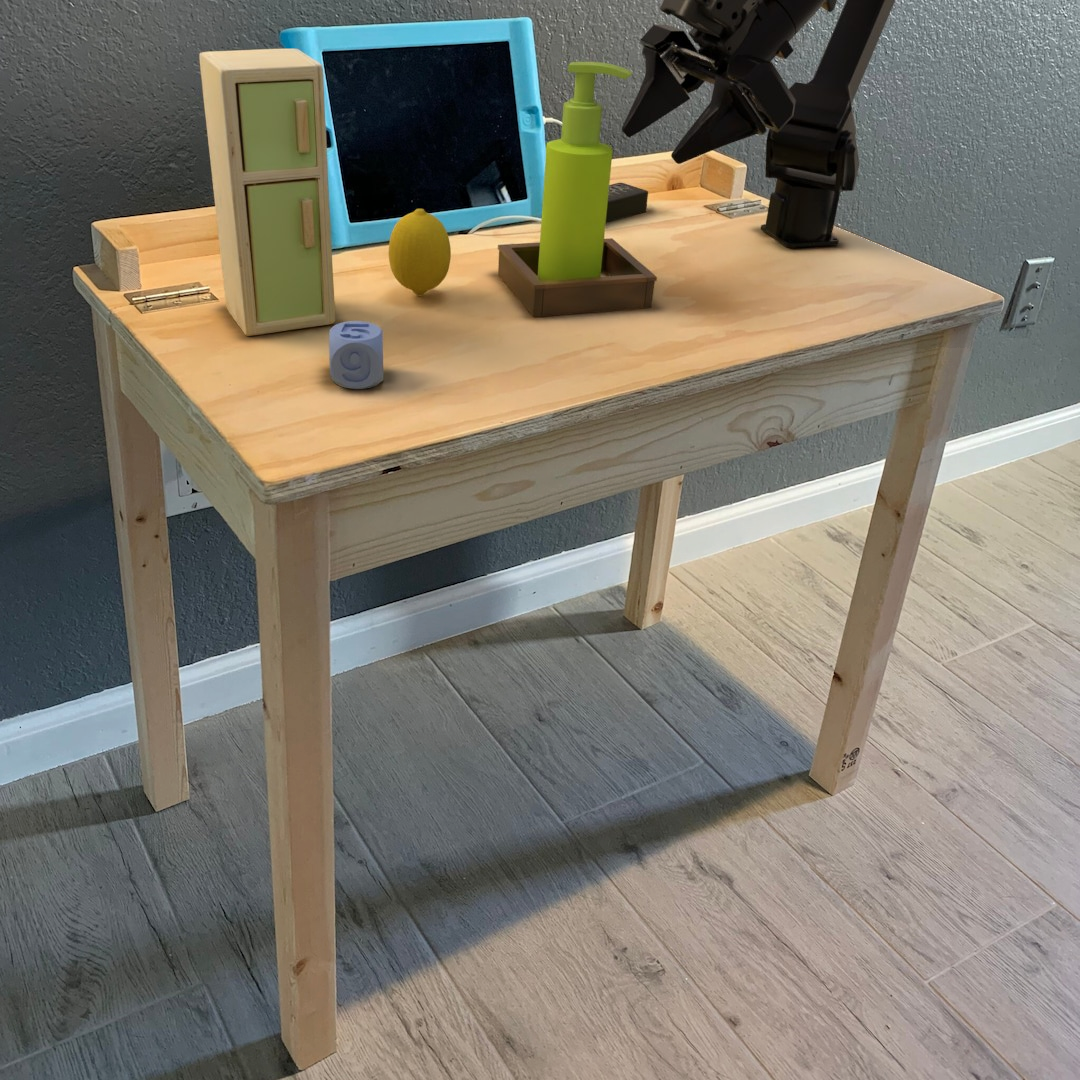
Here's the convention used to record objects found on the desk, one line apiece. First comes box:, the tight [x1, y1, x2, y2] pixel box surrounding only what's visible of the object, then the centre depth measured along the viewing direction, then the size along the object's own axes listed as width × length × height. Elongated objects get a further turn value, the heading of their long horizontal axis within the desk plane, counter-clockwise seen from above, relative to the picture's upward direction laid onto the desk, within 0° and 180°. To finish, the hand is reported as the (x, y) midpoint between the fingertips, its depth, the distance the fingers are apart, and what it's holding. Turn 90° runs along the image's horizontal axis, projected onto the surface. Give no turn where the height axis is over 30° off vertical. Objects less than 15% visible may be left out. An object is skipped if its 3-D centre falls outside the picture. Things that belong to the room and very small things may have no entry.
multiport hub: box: [606, 182, 649, 223], centre depth 127 cm, size 4×11×2 cm, turn 136°
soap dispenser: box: [538, 61, 634, 281], centre depth 102 cm, size 6×7×20 cm
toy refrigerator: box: [199, 48, 336, 337], centre depth 92 cm, size 8×7×21 cm
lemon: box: [388, 208, 452, 297], centre depth 102 cm, size 6×6×8 cm
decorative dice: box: [328, 320, 385, 390], centre depth 88 cm, size 4×4×4 cm
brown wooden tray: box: [497, 237, 658, 318], centre depth 106 cm, size 12×11×3 cm
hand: (648, 146), depth 102 cm, fingers open, 9 cm apart
